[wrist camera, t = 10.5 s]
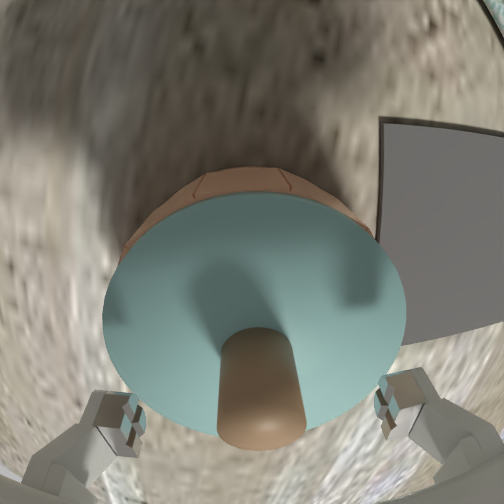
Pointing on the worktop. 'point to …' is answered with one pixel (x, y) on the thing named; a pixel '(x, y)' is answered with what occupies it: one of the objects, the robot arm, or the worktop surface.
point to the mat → (443, 226)
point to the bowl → (240, 182)
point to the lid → (254, 317)
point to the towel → (497, 12)
